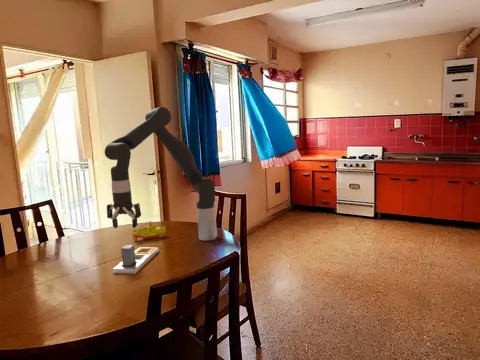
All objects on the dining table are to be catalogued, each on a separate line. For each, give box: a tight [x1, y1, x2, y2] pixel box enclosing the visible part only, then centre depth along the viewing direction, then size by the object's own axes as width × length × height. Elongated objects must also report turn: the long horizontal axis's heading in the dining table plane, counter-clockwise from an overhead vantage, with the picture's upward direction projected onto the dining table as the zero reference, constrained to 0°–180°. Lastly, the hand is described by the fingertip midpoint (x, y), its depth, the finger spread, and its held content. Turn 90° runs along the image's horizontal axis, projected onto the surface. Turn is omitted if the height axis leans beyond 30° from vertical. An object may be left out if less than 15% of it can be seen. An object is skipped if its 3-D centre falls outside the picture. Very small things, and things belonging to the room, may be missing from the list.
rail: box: [112, 246, 159, 275], centre depth 159 cm, size 10×26×2 cm, turn 172°
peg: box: [120, 244, 136, 267], centre depth 151 cm, size 4×4×10 cm
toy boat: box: [132, 220, 166, 242], centre depth 192 cm, size 6×18×10 cm, turn 115°
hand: (125, 227), depth 149 cm, fingers open, 8 cm apart
